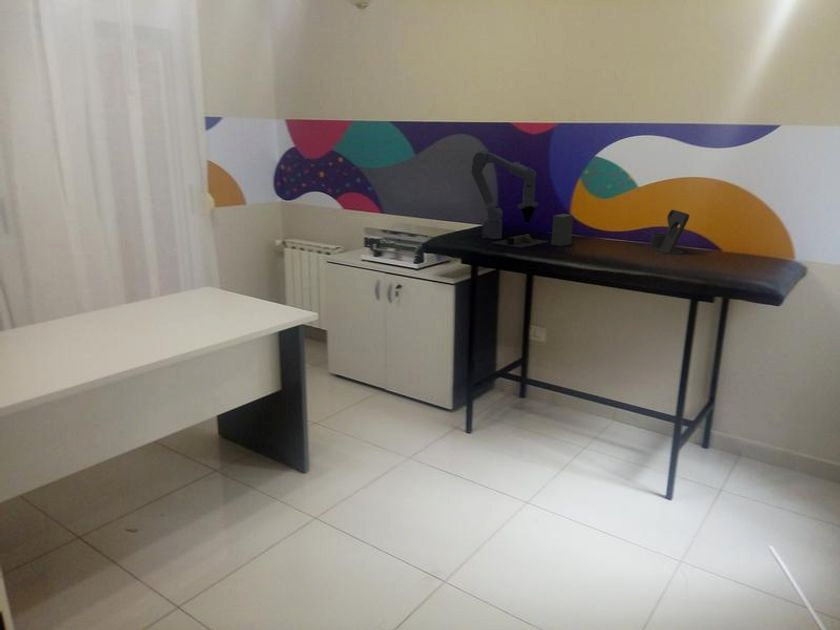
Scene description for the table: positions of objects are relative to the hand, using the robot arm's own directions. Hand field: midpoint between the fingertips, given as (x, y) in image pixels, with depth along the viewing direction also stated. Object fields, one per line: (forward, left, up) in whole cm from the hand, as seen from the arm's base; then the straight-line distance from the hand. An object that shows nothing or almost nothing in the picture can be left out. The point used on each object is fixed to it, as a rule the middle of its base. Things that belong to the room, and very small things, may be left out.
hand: (527, 222), depth 302 cm
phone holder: (+60, +26, -10) cm, 67 cm away
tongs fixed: (+3, -11, -8) cm, 14 cm away
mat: (+3, -9, -9) cm, 13 cm away
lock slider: (+6, -7, -9) cm, 12 cm away
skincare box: (+20, 0, -10) cm, 22 cm away
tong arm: (+4, -12, -8) cm, 15 cm away
